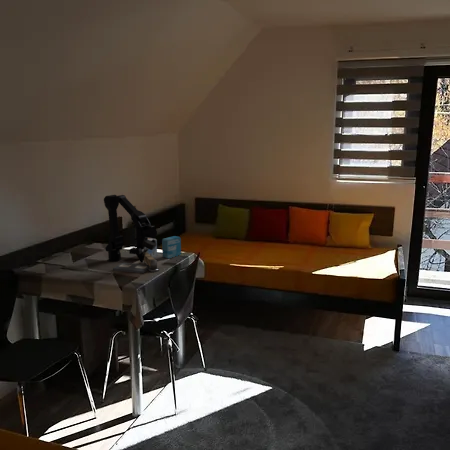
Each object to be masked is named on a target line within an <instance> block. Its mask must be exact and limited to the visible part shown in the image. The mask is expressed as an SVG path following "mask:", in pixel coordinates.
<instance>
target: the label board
mask: <svg viewBox="0 0 450 450" xmlns="http://www.w3.org/2000/svg"><path fill="white" fill-rule="evenodd" d="M149 268H151V267H150V266H149V265H148V264H143V263H133V262H130V263H129V262H122V263H119V264H118V265H116V266H114V267H112V271H114V272H115V271H117V272H128V273H137V274H138V273H139V274H144V273H146V272H149Z"/></svg>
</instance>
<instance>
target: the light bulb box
mask: <svg viewBox="0 0 450 450" xmlns="http://www.w3.org/2000/svg"><path fill="white" fill-rule="evenodd" d="M147 238H148V237H147ZM153 239H154V240H156V244H157V245H156V246H155V248H154V249H153V250H150V249H148V248H146V249H148V251H147V253H148V254H150V255H151V256H152V257H153V258H154V257H157V256H158V239H156V238H148V240H149V241H150V240H151V241H152V240H153Z"/></svg>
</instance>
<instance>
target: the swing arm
mask: <svg viewBox="0 0 450 450" xmlns="http://www.w3.org/2000/svg"><path fill="white" fill-rule="evenodd" d="M143 262H145V263H146V265H149V266H150V267H151V269H157V268H158V260H157V259H156V258H154V257H152V256H151V255H150V254H148V253H147V252H146V253H145V256H144V260H143Z"/></svg>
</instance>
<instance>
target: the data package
mask: <svg viewBox="0 0 450 450" xmlns="http://www.w3.org/2000/svg"><path fill="white" fill-rule="evenodd" d="M181 242H182V238H181V237H180V236H178V235H177V236H176V235H173V236H169V237H166V238H162V239H161V243H162V244H161V247H162V248H161V249H162V258H166V259H173V258H176V257H179V256H181V254H182V243H181ZM178 255H179V256H178ZM175 256H176V257H175ZM172 257H173V258H172Z"/></svg>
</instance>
